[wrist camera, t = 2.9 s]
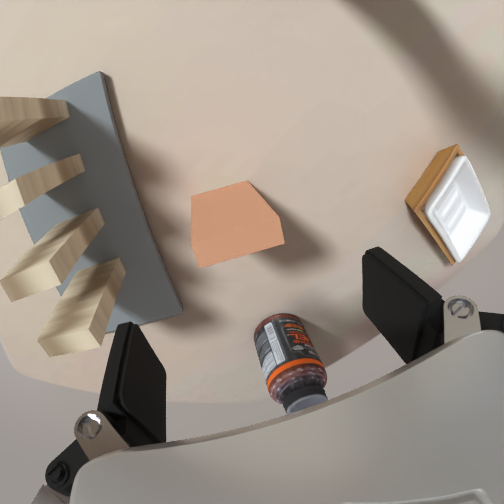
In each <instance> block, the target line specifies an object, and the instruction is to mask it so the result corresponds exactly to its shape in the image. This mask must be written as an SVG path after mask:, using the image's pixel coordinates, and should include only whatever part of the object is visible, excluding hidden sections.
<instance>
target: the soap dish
mask: <svg viewBox="0 0 504 504" xmlns="http://www.w3.org/2000/svg"><path fill="white" fill-rule="evenodd" d="M405 201H406V202H407V204H408V205H409V206H410V207H411V209H412V210H413V211H414V213H415V214H416V215H417V217H418V218H419V219H420V220H421V222H422V223H423V225H424V226H425V227H426V229H427V230H428V231H429V233H430V234H431V236H432V237H433V238H434V240H435V241H436V243H437V244H438V246H439V247H440V249H441V250H442V251H443V253H444V254H445V256H446V257H447V259H448V260H449V262H450V263H451V265H453V264H454V263H455V262H458V263H460V262H461V261H462V260H463V259H464V257H465V256H466V255H467V253H468V252H469V250H470V249H471V247H472V246H473V244H474V243H475V241H476V240H477V238H478V237H479V235H480V234H481V232H482V230H483V229H484V227H485V225H486V223H487V222H488V220H489V218H490V215H491V212H490V208H489V205H488V203H487V200H486V197H485V195H484V192H483V190H482V187H481V185H480V182H479V180H478V178H477V175H476V173H475V171H474V169H473V167H472V165H471V163H470V161H469V160H468V158H467V157H466V156H464V155H463V153H462V151H461V149H460V148H459V146H458V145H457V144H456V145H454V146H451V147H448V148H446V149H443V150H441V151H439V152H438V153H437V154H436V156H435V157H434V159H433V160H432V162H431V163H430V165H429V166H428V168H427V169H426V171H425V172H424V173H423V175H422V176H421V178H420V179H419V181H418V182H417V183H416V185H415V186H414V188H413V189H412V190H411V192H410V193H409V195H408V196H407V198H406V199H405Z"/></svg>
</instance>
